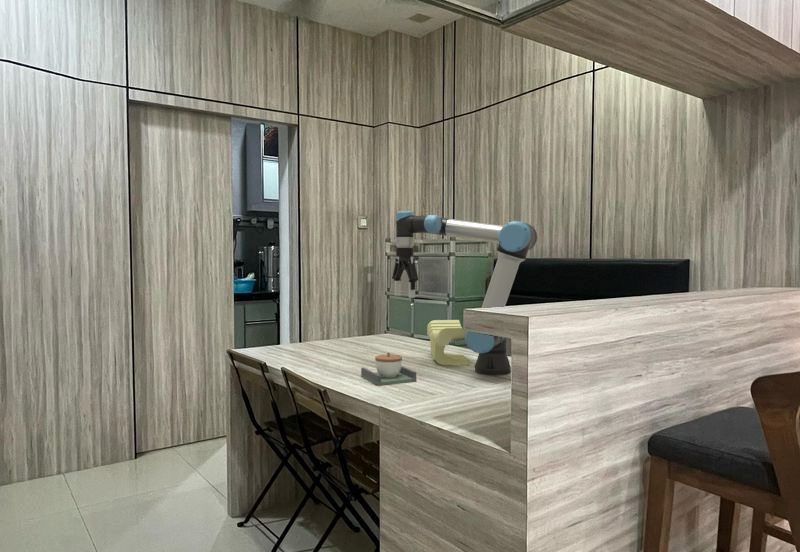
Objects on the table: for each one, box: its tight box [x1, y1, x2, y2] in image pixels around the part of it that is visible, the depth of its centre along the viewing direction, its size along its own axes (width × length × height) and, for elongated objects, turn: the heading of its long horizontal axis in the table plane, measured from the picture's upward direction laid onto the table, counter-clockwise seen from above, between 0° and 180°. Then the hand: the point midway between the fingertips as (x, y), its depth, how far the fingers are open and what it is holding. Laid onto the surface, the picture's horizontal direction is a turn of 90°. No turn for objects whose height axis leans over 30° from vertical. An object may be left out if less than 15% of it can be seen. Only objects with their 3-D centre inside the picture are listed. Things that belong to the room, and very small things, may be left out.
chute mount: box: [360, 365, 417, 387], centre depth 213 cm, size 16×17×4 cm
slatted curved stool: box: [426, 319, 470, 366], centre depth 249 cm, size 30×16×18 cm, turn 7°
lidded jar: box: [374, 352, 403, 378], centre depth 213 cm, size 11×11×9 cm
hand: (404, 296), depth 230 cm, fingers open, 13 cm apart
